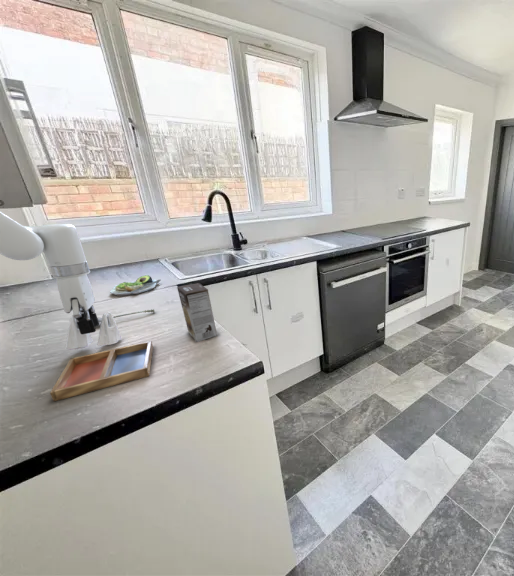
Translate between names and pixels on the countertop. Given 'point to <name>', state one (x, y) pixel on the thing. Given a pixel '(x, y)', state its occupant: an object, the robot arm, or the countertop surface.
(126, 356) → the sorting tray
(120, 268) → the countertop surface
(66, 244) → the robot arm
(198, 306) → the coffee box
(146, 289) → the avocado toast plate
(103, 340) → the shaker set
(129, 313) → the soupspoon
